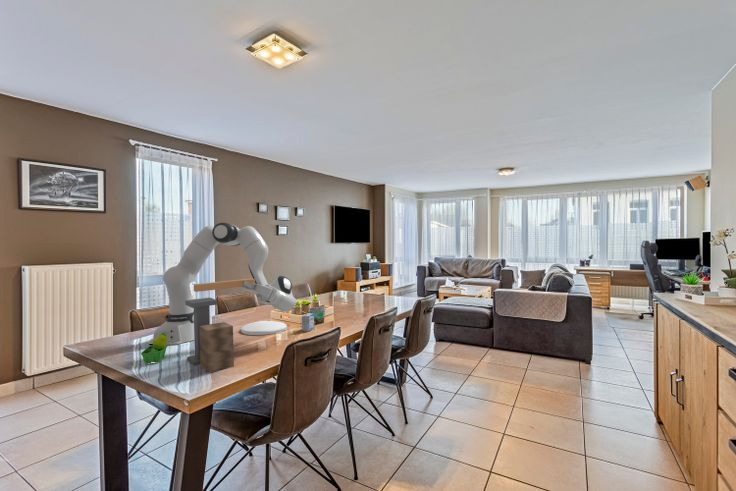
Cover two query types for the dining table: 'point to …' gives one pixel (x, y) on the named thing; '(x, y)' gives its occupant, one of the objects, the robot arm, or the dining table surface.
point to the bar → (221, 285)
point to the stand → (199, 322)
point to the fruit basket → (155, 350)
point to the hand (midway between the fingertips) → (241, 282)
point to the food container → (318, 314)
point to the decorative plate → (263, 328)
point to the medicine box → (308, 322)
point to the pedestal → (216, 346)
